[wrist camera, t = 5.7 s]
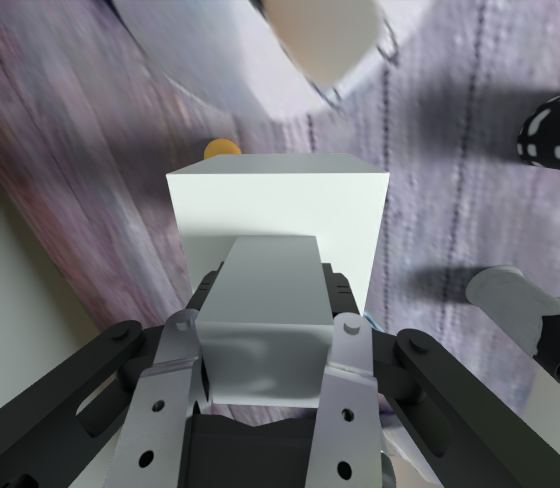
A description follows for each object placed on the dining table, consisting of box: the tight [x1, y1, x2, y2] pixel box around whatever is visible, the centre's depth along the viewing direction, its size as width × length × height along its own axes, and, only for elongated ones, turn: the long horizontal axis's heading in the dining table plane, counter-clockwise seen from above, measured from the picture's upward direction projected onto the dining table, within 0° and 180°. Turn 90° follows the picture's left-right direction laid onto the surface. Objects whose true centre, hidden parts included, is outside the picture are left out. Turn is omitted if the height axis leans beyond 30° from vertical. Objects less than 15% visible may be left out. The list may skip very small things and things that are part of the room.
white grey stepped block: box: [166, 153, 390, 408], centre depth 14 cm, size 10×10×15 cm
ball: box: [204, 138, 241, 160], centre depth 31 cm, size 5×5×5 cm
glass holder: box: [466, 265, 560, 383], centre depth 33 cm, size 9×14×15 cm, turn 102°
